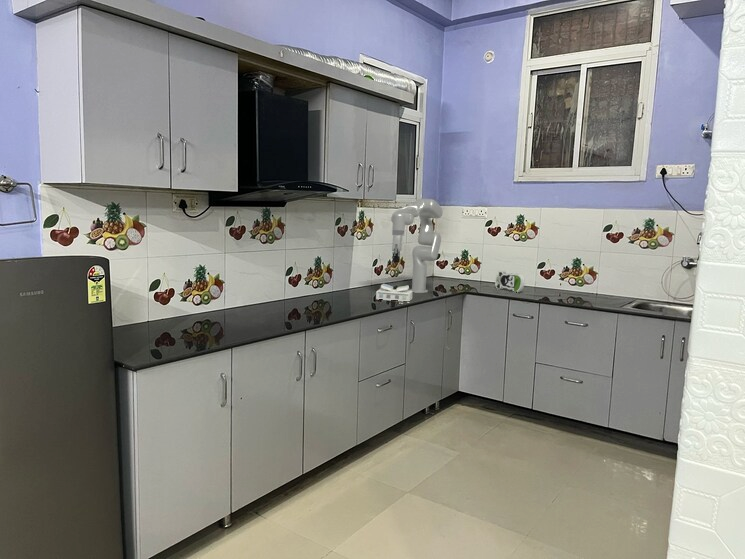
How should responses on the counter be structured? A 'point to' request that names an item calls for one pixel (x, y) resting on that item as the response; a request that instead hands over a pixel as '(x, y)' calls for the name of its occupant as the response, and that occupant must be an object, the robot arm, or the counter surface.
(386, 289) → the slate rocker
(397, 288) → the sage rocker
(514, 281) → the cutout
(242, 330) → the counter surface
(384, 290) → the switch box
